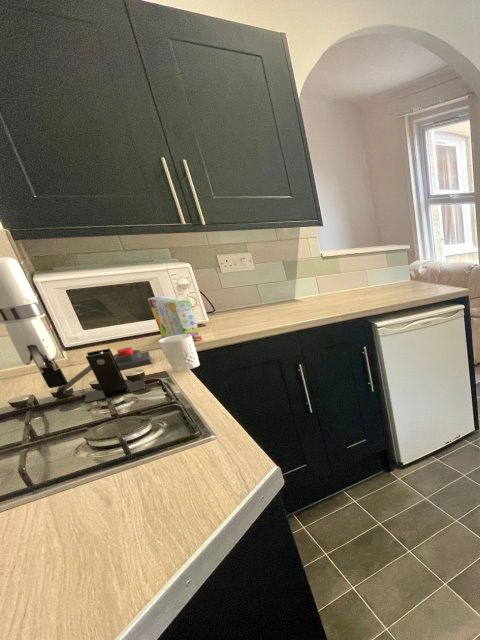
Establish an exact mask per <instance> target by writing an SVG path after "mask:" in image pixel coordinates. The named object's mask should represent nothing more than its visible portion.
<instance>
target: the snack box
mask: <svg viewBox="0 0 480 640" xmlns="http://www.w3.org/2000/svg"><path fill="white" fill-rule="evenodd" d="M147 301H148V304H149V307H150V309H151V312H152V315H153V317H154V320H155V322H156V325H157V327H158V330H159V333H160V336H161V337H162V338H166V337H169V336H174V335H180V334H190V335H191V336H192V339H193V342H194V343H195V342H197V341H202V339H203V338H202V335H201V332H200V329H199V325H198V323H197V319H196V317H195V314H194V310H193V308H192V305H191V301H190V300H189V299H187V298H186V299H185V298H178V297H172V296H164V295H159V296H153V297H149V298H147ZM197 339H200V340H197ZM194 340H196V341H194Z"/></svg>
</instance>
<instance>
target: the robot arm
mask: <svg viewBox="0 0 480 640" xmlns="http://www.w3.org/2000/svg"><path fill="white" fill-rule="evenodd" d="M36 296H37V295H35V293H34V291H33V289H32V286H31V284H30V282H29V281H28V279H27V277H26V275H25V273H24V271H23V269H22V267H21V266H20V264H19V262H18V261H17V259H15V258H13V257H11V256H0V325H1V324H2V325H3V324H4V325H5V329H6V331H7V334H8V337H9V338H10V340H11V342H12V344H13V347H14V348H15V351H16V353H17V355H18V356H19V358H20V360H21V363H22V365H26V366H29V365H31V363H32V361H33V362H34V364H35V365H36V367H37V369H38V370H39V372H40V375H41V376H42V378H43V380H44V381H45V382H44V383H46V385H47V387H48V388H49V389H54V388H58V387H59V386H63V385H66V384H67V382H68V380H67V378H66V376H65V375H64V373H63V370H62V369H61V367H59V364H58V362H57V360H56V358H55V357H56V355H57V348H56V345H55V343H54V341H53V340H52V339H53V338H52V337H51V336H50V334H49V331H48V330H47V328H46V326H45V324H44V322H43V320H42V318H43V317H46V313H45V312H44V310H43V308H42V306H41V303H40V302H39V300H38V298H37V297H36Z"/></svg>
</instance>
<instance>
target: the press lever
mask: <svg viewBox="0 0 480 640" xmlns="http://www.w3.org/2000/svg"><path fill="white" fill-rule="evenodd" d="M100 353H103V352H102V351H101V352H100ZM100 353H98V354H100ZM91 371H92V369H91V367H90V365H88V366H86V367H84V369H82V370H81V371H80V372H78V374H76V375H75V376H74V377H72V378H71V379H70V380H69V381H67V384H66V385H63V386H59V387H57V389H56V392H55V396H57V397H59V398H62V397H64V396H65V394H66V391H67V390H68V389H70V388H71V387H72V386H74V384H76V383H77V382H79V381H80V380H81V379H82V378H83V377H85V376H86V375H87V374H89V373H90V372H91Z"/></svg>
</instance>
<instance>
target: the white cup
mask: <svg viewBox="0 0 480 640" xmlns="http://www.w3.org/2000/svg"><path fill="white" fill-rule="evenodd" d="M157 342H158V344H159V346H160V349H161V350H162V353H163V354H164V357H165V358H166V360H167V362H168V364H169V365H170V367H171V370H172V371H173V372H184V371H189V370H193V369H195V368H197V367H199V366H200V365H201V363H200V360H199V355H198V352H197V349H196V346H195V341H194V342H193V339H192V336H191V335H190V334H180V335H174V336H169V337H162V338H160V339H159V340H158V341H157Z"/></svg>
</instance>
